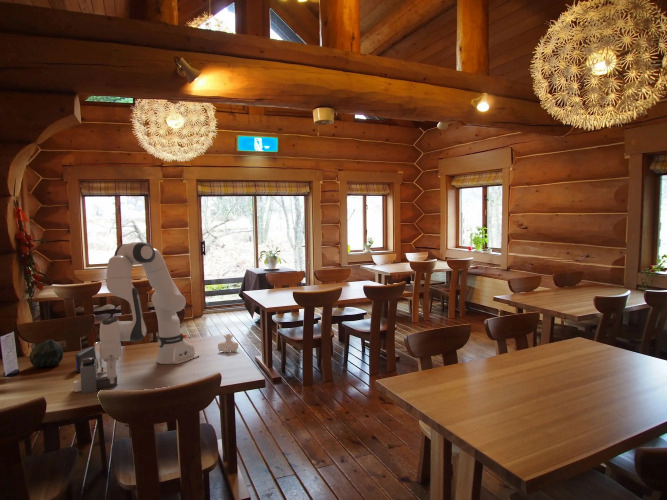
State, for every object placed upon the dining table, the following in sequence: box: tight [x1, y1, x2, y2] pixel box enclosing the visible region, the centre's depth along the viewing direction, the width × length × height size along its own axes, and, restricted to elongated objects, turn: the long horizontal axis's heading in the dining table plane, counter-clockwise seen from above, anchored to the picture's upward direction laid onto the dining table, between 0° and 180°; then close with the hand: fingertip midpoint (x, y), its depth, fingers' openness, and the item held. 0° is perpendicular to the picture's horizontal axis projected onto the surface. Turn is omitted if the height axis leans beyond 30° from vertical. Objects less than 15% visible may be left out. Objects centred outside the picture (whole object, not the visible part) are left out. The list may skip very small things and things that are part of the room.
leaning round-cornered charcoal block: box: [74, 346, 95, 373], centre depth 226 cm, size 16×5×9 cm, turn 2°
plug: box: [73, 374, 118, 393], centre depth 200 cm, size 18×3×4 cm, turn 117°
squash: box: [29, 339, 64, 368], centre depth 231 cm, size 14×15×15 cm
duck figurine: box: [217, 333, 239, 353], centre depth 254 cm, size 12×8×11 cm
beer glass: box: [93, 341, 107, 374], centre depth 221 cm, size 7×7×15 cm
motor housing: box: [79, 357, 99, 395], centre depth 199 cm, size 6×11×14 cm, turn 26°
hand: (112, 381), depth 203 cm, fingers closed on plug, 3 cm apart
